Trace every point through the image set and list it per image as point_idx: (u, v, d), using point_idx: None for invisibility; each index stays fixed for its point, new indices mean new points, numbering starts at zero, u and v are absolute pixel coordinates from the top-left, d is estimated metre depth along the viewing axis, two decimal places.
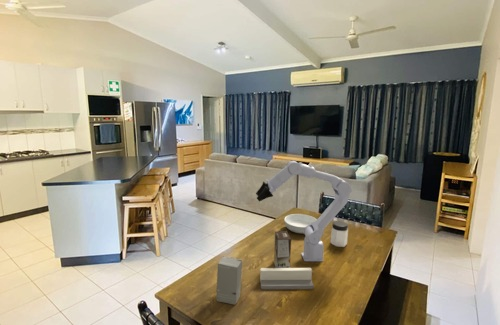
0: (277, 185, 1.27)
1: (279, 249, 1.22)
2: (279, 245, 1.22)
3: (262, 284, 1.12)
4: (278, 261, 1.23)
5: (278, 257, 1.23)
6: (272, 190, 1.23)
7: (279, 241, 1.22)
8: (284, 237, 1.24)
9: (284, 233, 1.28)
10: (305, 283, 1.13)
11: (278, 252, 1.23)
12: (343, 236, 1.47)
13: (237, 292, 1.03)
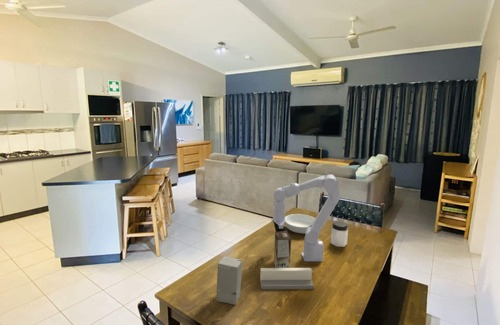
0: (282, 217, 1.35)
1: (279, 249, 1.22)
2: (279, 245, 1.22)
3: (262, 284, 1.12)
4: (278, 261, 1.23)
5: (278, 257, 1.23)
6: (281, 226, 1.31)
7: (279, 241, 1.22)
8: (284, 237, 1.24)
9: (284, 233, 1.28)
10: (305, 283, 1.13)
11: (278, 252, 1.23)
12: (343, 236, 1.47)
13: (237, 292, 1.03)
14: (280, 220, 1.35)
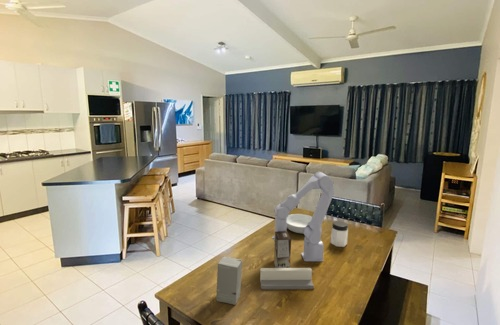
0: None
1: (279, 249, 1.22)
2: (279, 245, 1.22)
3: (262, 284, 1.12)
4: (278, 261, 1.23)
5: (278, 257, 1.23)
6: None
7: (279, 241, 1.21)
8: (284, 237, 1.24)
9: (284, 233, 1.28)
10: (305, 283, 1.13)
11: (278, 252, 1.22)
12: (343, 236, 1.47)
13: (237, 292, 1.03)
14: None
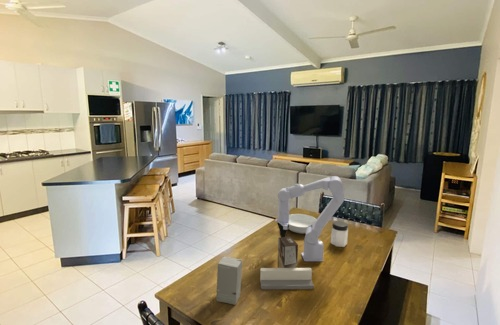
0: (286, 218, 1.34)
1: (286, 256, 1.16)
2: (286, 252, 1.16)
3: (262, 284, 1.12)
4: None
5: (285, 264, 1.17)
6: (285, 227, 1.30)
7: (286, 248, 1.16)
8: (290, 242, 1.18)
9: (289, 238, 1.22)
10: (305, 283, 1.13)
11: (285, 259, 1.17)
12: (343, 236, 1.47)
13: (237, 292, 1.03)
14: (284, 221, 1.34)
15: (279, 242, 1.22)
